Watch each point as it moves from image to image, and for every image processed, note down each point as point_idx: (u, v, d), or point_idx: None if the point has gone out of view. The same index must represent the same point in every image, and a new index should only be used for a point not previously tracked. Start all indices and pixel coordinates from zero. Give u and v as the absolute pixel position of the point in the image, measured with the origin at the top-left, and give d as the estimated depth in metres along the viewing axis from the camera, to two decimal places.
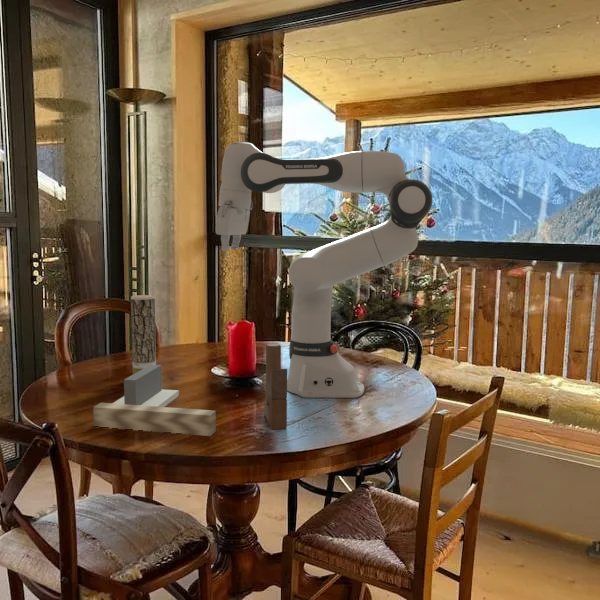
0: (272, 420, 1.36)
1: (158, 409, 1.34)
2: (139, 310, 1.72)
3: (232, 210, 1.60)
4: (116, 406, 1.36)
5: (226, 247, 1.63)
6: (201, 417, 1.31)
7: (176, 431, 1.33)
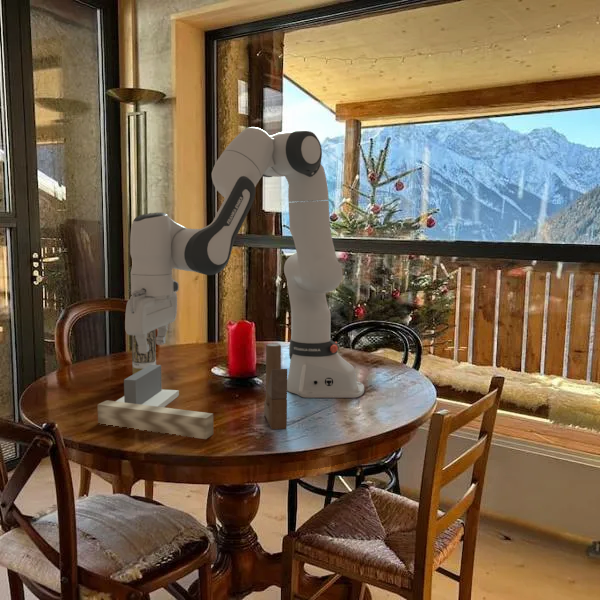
0: (272, 420, 1.36)
1: (157, 410, 1.34)
2: None
3: (146, 302, 1.25)
4: (119, 404, 1.38)
5: (144, 348, 1.28)
6: (197, 419, 1.30)
7: (173, 432, 1.32)
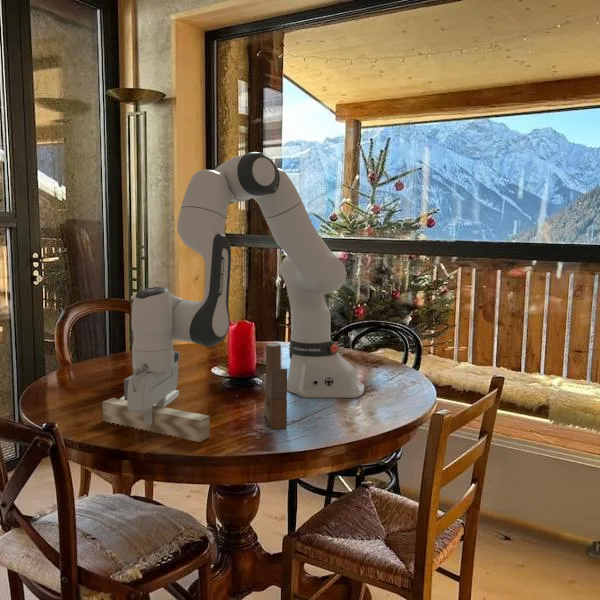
0: (272, 420, 1.36)
1: (157, 409, 1.34)
2: None
3: (147, 379, 1.27)
4: (122, 402, 1.39)
5: (149, 419, 1.32)
6: (192, 421, 1.28)
7: (170, 433, 1.31)
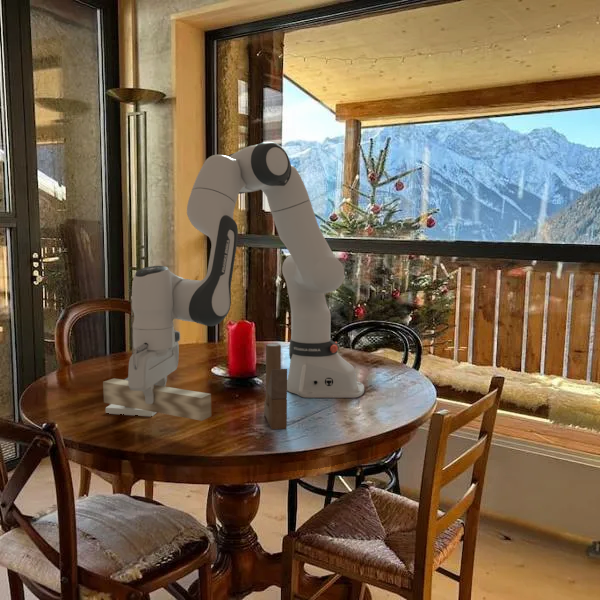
0: (272, 420, 1.36)
1: (158, 388, 1.34)
2: None
3: (148, 357, 1.26)
4: (123, 382, 1.38)
5: (150, 398, 1.31)
6: (193, 399, 1.28)
7: (171, 411, 1.31)
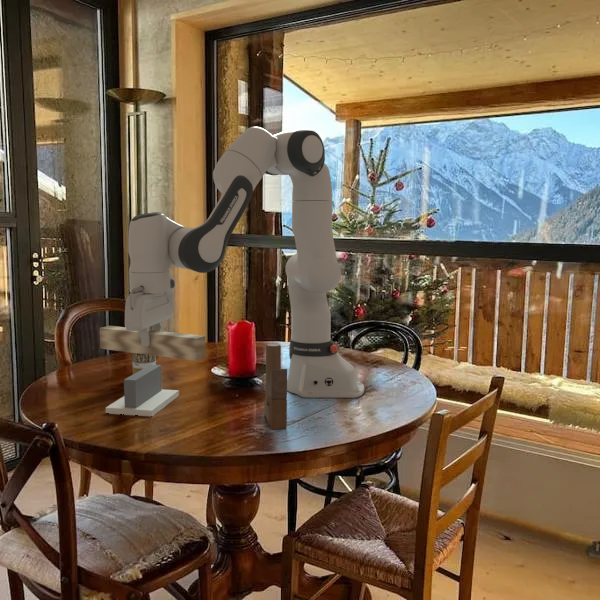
0: (272, 420, 1.36)
1: (153, 332, 1.37)
2: None
3: (144, 298, 1.29)
4: (119, 328, 1.41)
5: (146, 341, 1.34)
6: (188, 340, 1.31)
7: (167, 353, 1.34)
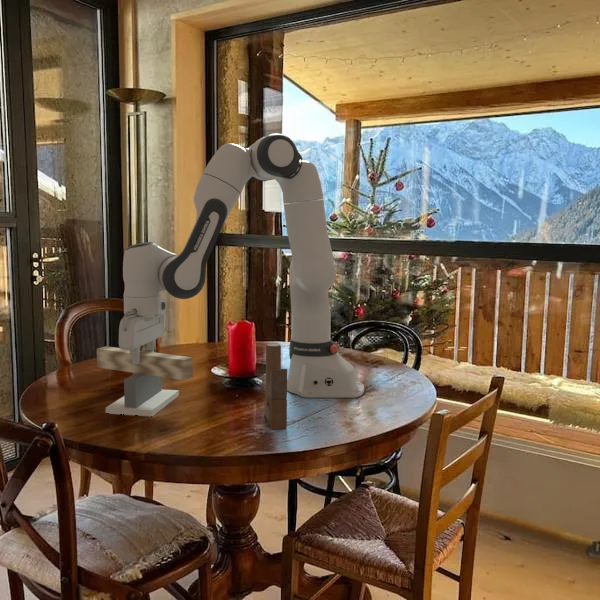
0: (272, 420, 1.36)
1: (145, 353, 1.51)
2: None
3: (136, 320, 1.44)
4: (115, 349, 1.56)
5: (137, 359, 1.48)
6: (176, 361, 1.46)
7: (157, 373, 1.49)
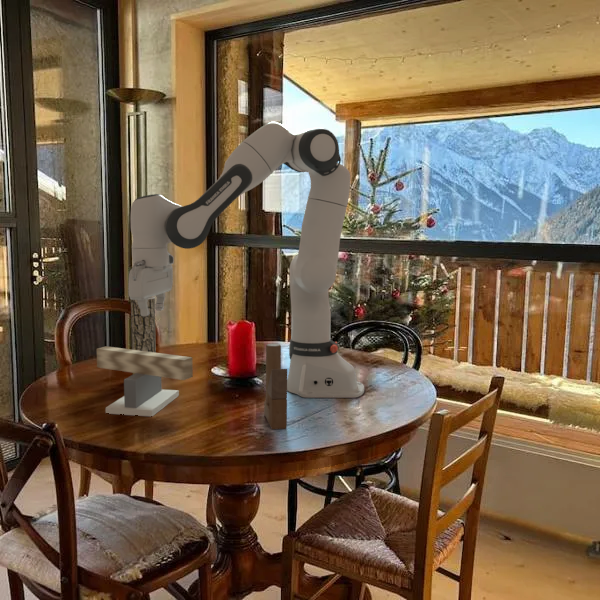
0: (272, 420, 1.36)
1: (145, 353, 1.51)
2: (139, 310, 1.72)
3: (145, 271, 1.44)
4: (115, 349, 1.56)
5: (145, 311, 1.48)
6: (176, 361, 1.46)
7: (157, 373, 1.49)
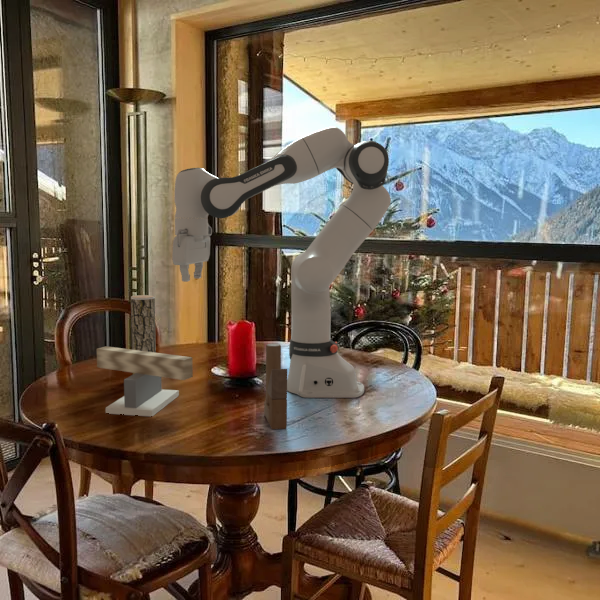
0: (272, 420, 1.36)
1: (145, 353, 1.51)
2: (139, 310, 1.72)
3: (188, 238, 1.55)
4: (115, 349, 1.56)
5: (186, 277, 1.58)
6: (176, 361, 1.46)
7: (157, 373, 1.49)
